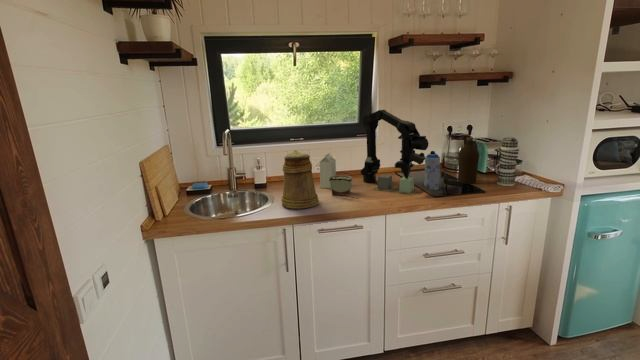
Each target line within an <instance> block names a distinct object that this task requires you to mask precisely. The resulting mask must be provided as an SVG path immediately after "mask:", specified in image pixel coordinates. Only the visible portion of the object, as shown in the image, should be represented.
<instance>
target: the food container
mask: <svg viewBox="0 0 640 360" xmlns="http://www.w3.org/2000/svg"><path fill="white" fill-rule="evenodd" d="M329 181H330V184H331V188H330V190H331V196H332V197H340V198H341V197H342V198H351V186H352V182H353V179H352V176H350V175H345V174H342V175H341V174H336V176H331V177H330V178H329Z"/></svg>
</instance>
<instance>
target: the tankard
mask: <svg viewBox="0 0 640 360" xmlns="http://www.w3.org/2000/svg"><path fill="white" fill-rule="evenodd" d="M310 157H311V156H310V155H309V153H302V152H298V150H297V149H294V150H293V152H291V153H288V154H285V156H284V164H282V172H283V185H282V187H283V188H282V196H281V205H282V207H285V208H287V209H295V210H296V209H308V208H312V207H315V206H317V205H318V204H319V202H320V200H319V197H318V193H316V187H315V186H316V185H315V181H314V176H313V171H312V169H313V164H312V162H311V159H310Z"/></svg>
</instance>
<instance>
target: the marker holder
mask: <svg viewBox="0 0 640 360" xmlns="http://www.w3.org/2000/svg"><path fill="white" fill-rule="evenodd" d="M420 190H421V189H420V188H416V187H414V190H413V191H412V192H411V193H406V192H399V186H396V185H392V188H390V189H389V190H383V189H378V185H377V186H376V187H374V188H373V189H371V191H377V192H383V193H384V192H385V193H392V194H399V195H406V196H407V195H408V196H413V195H415V194H416V193H417V192H418V191H420Z"/></svg>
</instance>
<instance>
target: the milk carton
mask: <svg viewBox="0 0 640 360" xmlns="http://www.w3.org/2000/svg"><path fill="white" fill-rule="evenodd" d="M336 162H337V161H336V159H335V158H334V157H333V156H332V155H331V154H330V152H327V153H326V154H325V155H324V157H323V158H322V159H321V160H320V161H319V163H318V164H319V180H320V182H319V183H320V188H323V189H331V184H330V181H329V178H330V177H331V176H336V175H337V170H336V169H337V168H336V167H337V163H336Z"/></svg>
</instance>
